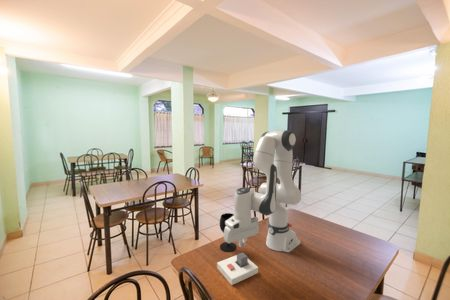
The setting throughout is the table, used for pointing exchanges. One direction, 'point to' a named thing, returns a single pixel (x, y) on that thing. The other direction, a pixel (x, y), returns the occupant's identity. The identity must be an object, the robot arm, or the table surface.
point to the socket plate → (236, 270)
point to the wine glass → (224, 246)
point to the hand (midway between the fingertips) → (241, 245)
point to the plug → (242, 260)
